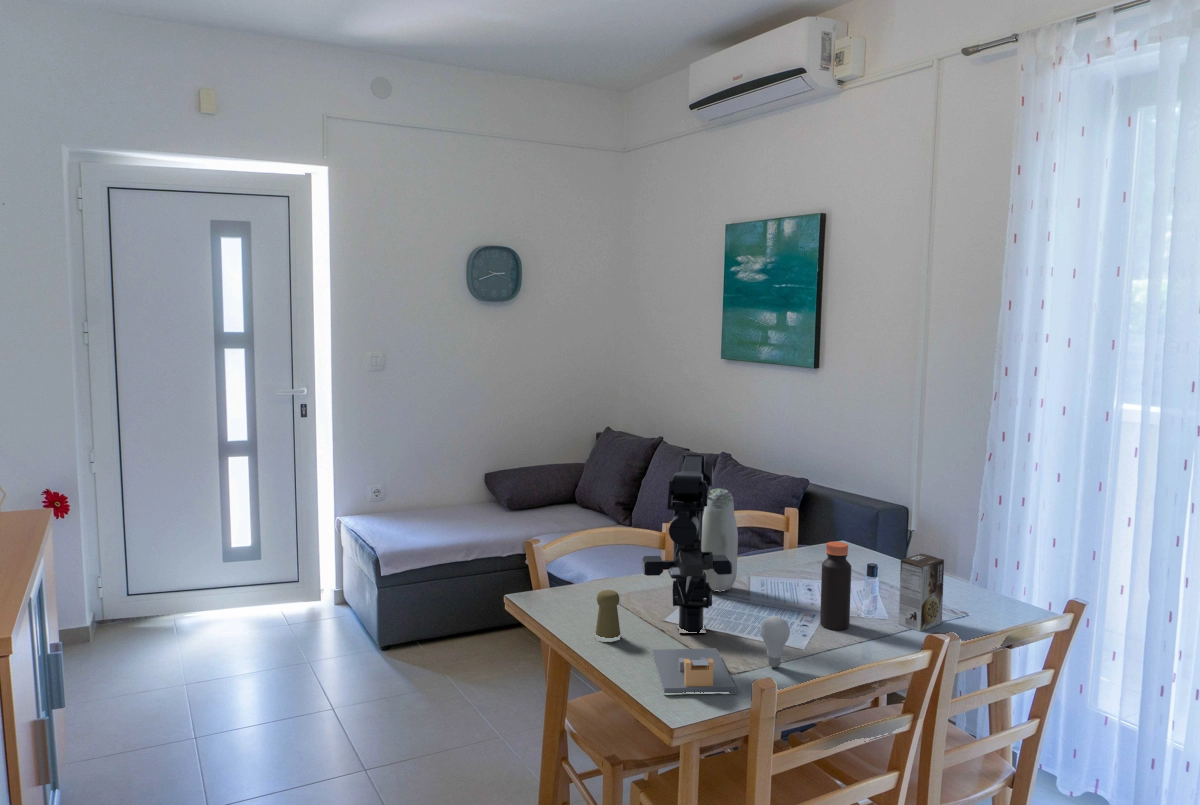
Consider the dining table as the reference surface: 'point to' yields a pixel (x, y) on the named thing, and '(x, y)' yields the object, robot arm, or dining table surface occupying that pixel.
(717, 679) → the base plate
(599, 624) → the cork
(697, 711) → the dining table surface
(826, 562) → the black water bottle
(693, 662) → the bar
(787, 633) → the lightbulb
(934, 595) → the coffee box
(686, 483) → the robot arm
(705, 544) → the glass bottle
